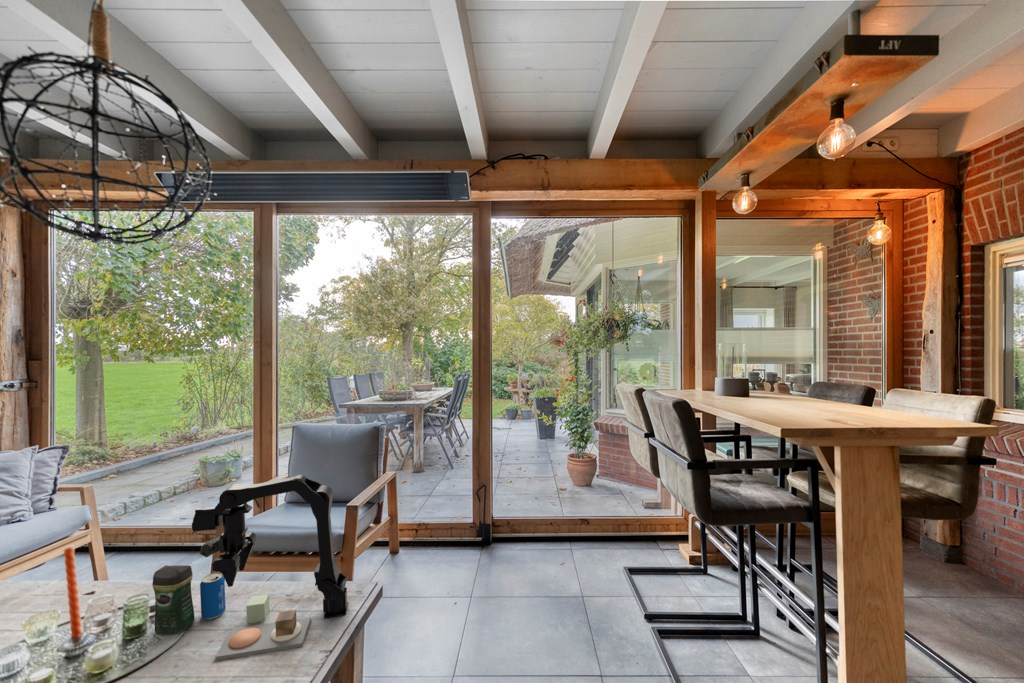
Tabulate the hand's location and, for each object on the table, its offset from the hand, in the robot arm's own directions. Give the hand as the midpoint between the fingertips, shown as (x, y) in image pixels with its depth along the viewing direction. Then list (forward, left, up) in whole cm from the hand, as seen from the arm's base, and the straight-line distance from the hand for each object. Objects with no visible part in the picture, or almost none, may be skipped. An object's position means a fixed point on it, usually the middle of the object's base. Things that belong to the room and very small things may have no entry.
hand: (236, 578), depth 139 cm
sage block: (-5, -3, -15) cm, 16 cm away
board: (-10, +9, -15) cm, 20 cm away
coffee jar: (+19, -4, -15) cm, 24 cm away
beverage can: (+10, -8, -15) cm, 19 cm away
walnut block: (-16, +9, -13) cm, 22 cm away
